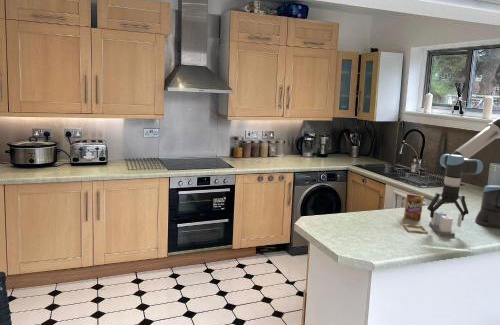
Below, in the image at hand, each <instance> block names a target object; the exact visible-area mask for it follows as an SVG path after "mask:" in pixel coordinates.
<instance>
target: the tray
mask: <svg viewBox="0 0 500 325" xmlns="http://www.w3.org/2000/svg"><path fill="white" fill-rule="evenodd" d="M402 226H403V228H404V229H405V230H406V231H407V232H408V233H416V234H417V233H418V234H426V235H427V234H429V231H428V230H427V229H426V228H425V227H424V225H421V224H418V225H417V224H410V223H409V224H408V223H403V225H402ZM410 228H416V229H417V228H419V230H418V229H417V230H416V229H410ZM420 229H422V230H420Z"/></svg>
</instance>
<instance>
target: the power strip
mask: <svg viewBox="0 0 500 325" xmlns="http://www.w3.org/2000/svg"><path fill="white" fill-rule="evenodd" d="M428 225H429V227H430V228H431V229H432V230H433V231H434V232H435V233H436V234H437V235H439V236H440V237H445V238H455V236H456V233H455V232H454V231H453V230H451V232H442V231H440V230H439V226H435V225H432V224H431V221H429V223H428Z"/></svg>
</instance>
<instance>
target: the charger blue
mask: <svg viewBox="0 0 500 325" xmlns="http://www.w3.org/2000/svg"><path fill="white" fill-rule="evenodd" d="M434 212H436V214H435V221H434V225H435V226H439V224H440V218H441V216H448V215H447V213H446V212H445V211H444V210H443V211H442V210H441V211H440V210H436V211H434Z"/></svg>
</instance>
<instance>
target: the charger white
mask: <svg viewBox="0 0 500 325" xmlns="http://www.w3.org/2000/svg"><path fill="white" fill-rule="evenodd" d="M453 220H454V218H452V217H451V215H450V216H448V215H446V216H441V218H440V224H439V230H440V231H442V232H451V231H452V227H453V222H454V221H453Z"/></svg>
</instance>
